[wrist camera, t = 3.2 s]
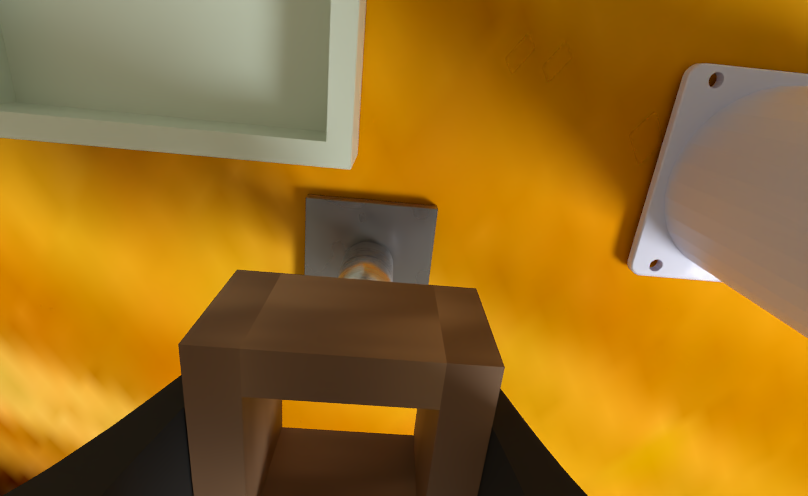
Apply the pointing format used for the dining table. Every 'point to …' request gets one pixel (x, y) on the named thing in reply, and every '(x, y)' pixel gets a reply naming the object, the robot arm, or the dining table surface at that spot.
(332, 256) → the grey piece
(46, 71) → the tray
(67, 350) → the dining table surface
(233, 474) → the ring
